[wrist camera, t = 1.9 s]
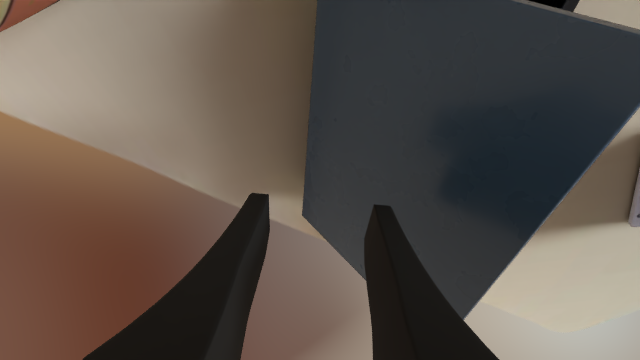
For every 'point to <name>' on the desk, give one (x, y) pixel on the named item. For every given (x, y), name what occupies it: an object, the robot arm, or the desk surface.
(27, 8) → the coffee cup
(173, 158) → the desk surface
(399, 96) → the cover
